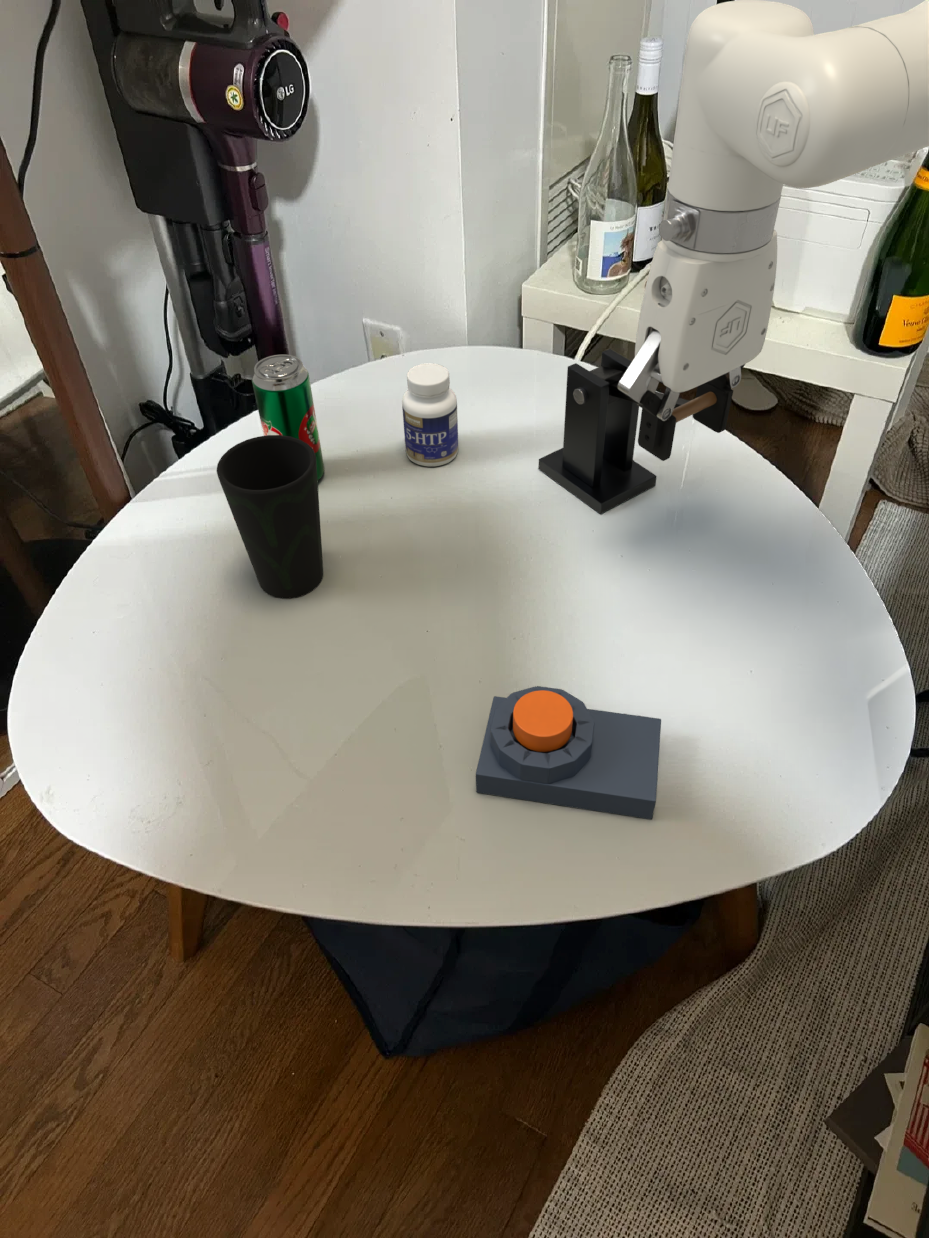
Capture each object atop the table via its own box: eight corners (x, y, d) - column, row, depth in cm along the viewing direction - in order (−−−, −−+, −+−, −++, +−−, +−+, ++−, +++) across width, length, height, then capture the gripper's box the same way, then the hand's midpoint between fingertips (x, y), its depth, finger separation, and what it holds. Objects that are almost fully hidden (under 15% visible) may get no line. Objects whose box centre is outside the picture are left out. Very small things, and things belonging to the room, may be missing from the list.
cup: (353, 574, 80) (336, 459, 71) (285, 620, 76) (257, 505, 68) (296, 536, 84) (273, 423, 75) (228, 579, 80) (196, 465, 71)
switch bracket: (655, 486, 87) (671, 375, 79) (600, 514, 85) (610, 402, 76) (592, 443, 93) (600, 335, 84) (538, 469, 90) (541, 359, 82)
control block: (657, 737, 66) (664, 702, 64) (652, 819, 62) (659, 785, 59) (493, 714, 68) (493, 679, 66) (476, 792, 64) (474, 758, 61)
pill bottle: (401, 466, 91) (393, 386, 85) (411, 436, 95) (405, 357, 88) (454, 470, 90) (450, 390, 84) (462, 439, 94) (460, 361, 88)
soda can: (264, 474, 91) (239, 364, 82) (308, 455, 93) (289, 346, 84) (289, 499, 88) (266, 387, 79) (334, 478, 90) (317, 368, 81)
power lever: (717, 413, 76) (716, 385, 74) (668, 436, 73) (667, 408, 72) (617, 385, 84) (615, 359, 83) (571, 405, 82) (568, 379, 81)
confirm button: (575, 710, 64) (576, 693, 63) (568, 756, 61) (569, 740, 60) (518, 702, 64) (518, 686, 63) (508, 747, 62) (508, 731, 61)
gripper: (668, 272, 58) (636, 500, 71) (844, 203, 65) (786, 422, 78) (588, 233, 62) (572, 455, 75) (761, 172, 69) (719, 385, 82)
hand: (681, 436), depth 76 cm, fingers closed on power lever, 5 cm apart
